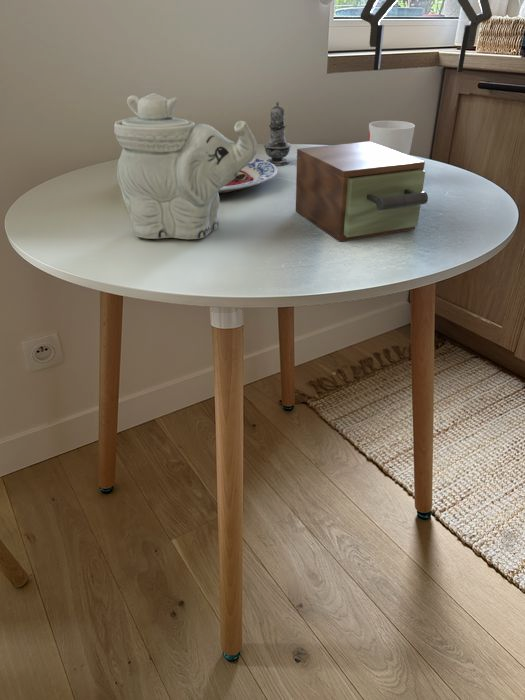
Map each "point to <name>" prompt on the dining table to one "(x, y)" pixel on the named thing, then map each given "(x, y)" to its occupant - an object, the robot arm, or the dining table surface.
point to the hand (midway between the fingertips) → (417, 70)
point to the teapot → (175, 169)
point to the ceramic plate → (251, 175)
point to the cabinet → (341, 180)
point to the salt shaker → (277, 138)
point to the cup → (392, 135)
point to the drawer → (383, 202)
